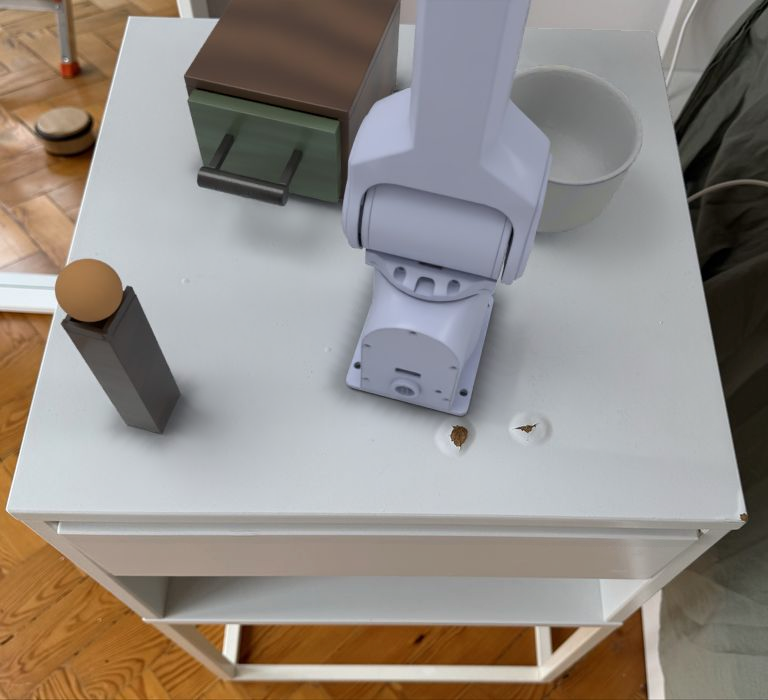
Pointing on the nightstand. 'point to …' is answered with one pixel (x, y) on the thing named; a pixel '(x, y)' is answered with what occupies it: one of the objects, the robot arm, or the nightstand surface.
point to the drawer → (265, 149)
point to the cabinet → (304, 58)
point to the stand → (128, 363)
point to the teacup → (579, 139)
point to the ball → (88, 290)
